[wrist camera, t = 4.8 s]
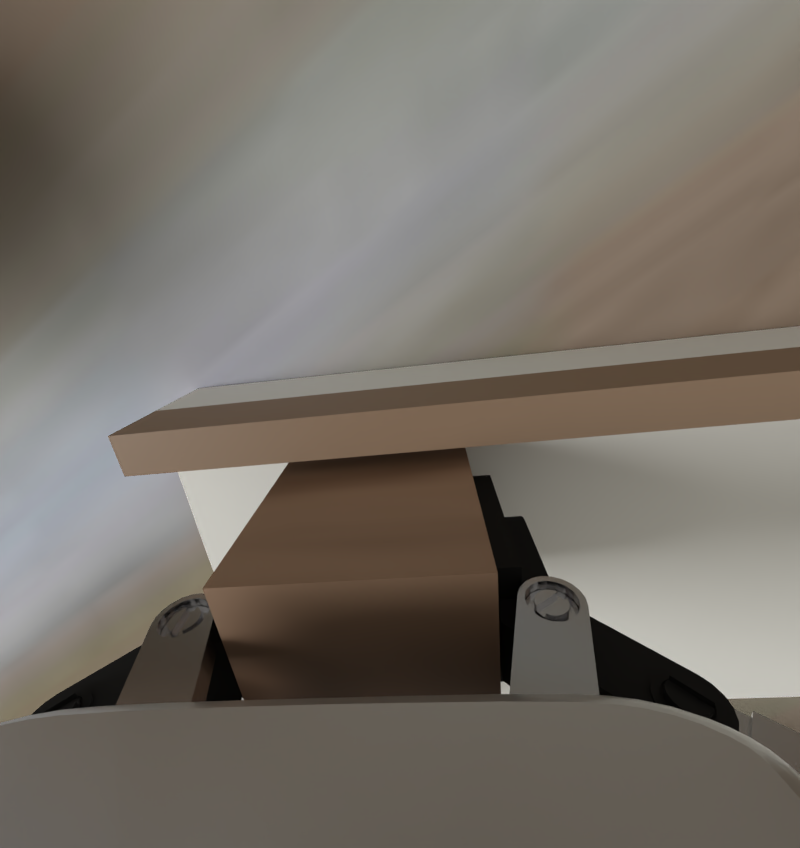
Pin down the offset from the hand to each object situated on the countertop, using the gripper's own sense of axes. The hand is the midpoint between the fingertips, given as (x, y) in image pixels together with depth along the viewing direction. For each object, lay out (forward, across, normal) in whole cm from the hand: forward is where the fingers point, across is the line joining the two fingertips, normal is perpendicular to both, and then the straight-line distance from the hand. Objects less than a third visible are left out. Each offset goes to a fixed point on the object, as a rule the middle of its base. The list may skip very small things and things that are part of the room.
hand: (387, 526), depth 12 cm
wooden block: (+1, 0, +3) cm, 3 cm away
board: (+4, -6, +3) cm, 8 cm away
